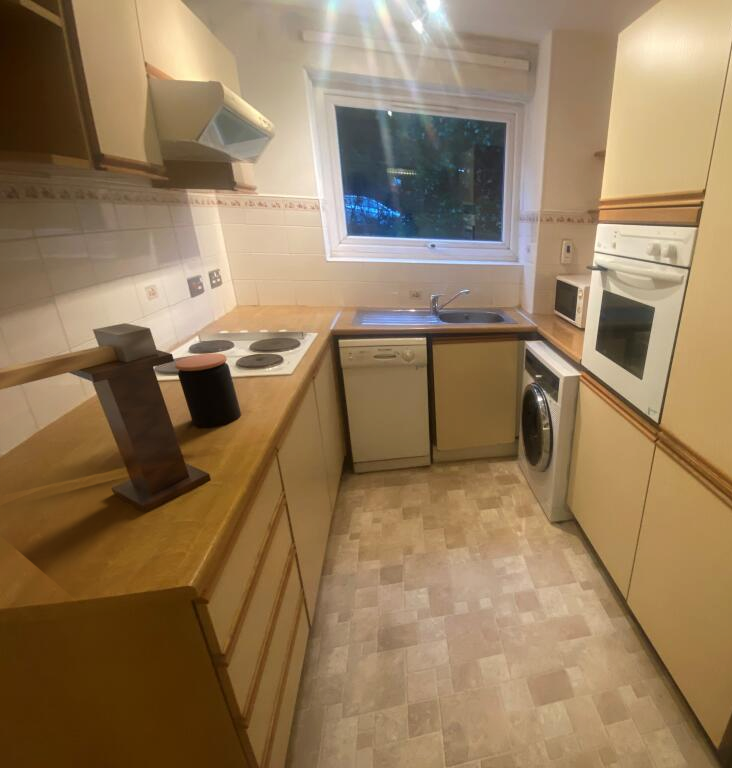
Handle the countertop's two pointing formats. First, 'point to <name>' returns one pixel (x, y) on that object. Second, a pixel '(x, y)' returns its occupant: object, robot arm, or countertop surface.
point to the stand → (143, 431)
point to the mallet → (86, 355)
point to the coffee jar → (208, 390)
